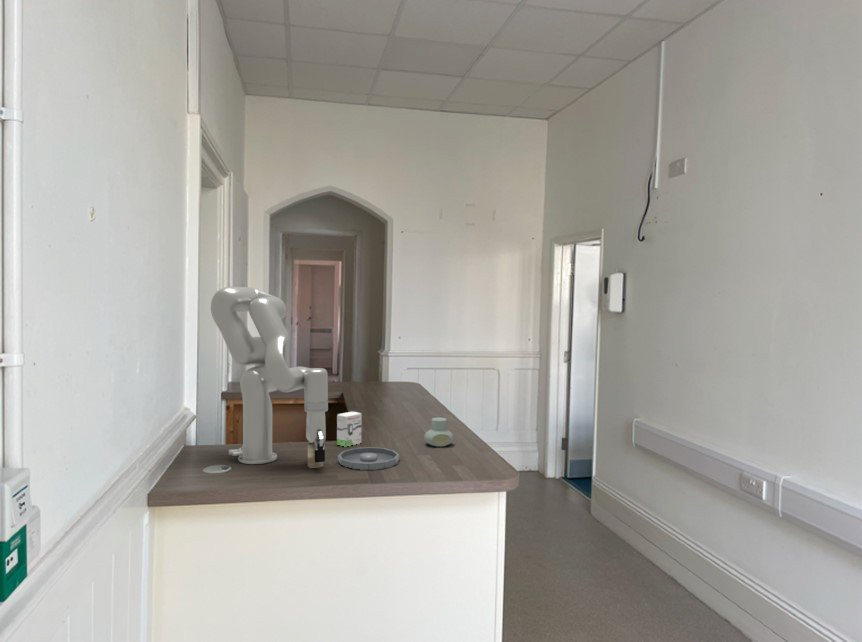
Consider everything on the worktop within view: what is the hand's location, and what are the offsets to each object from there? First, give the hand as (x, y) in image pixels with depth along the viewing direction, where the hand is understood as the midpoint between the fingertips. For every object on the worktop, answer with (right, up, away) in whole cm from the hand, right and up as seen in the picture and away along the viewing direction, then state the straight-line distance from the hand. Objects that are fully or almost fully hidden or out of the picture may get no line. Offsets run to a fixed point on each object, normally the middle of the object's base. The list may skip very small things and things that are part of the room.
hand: (317, 458), depth 191 cm
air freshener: (+40, -2, +30) cm, 50 cm away
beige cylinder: (-1, -3, 0) cm, 3 cm away
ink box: (+6, -2, +29) cm, 30 cm away
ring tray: (+16, -3, +7) cm, 18 cm away
